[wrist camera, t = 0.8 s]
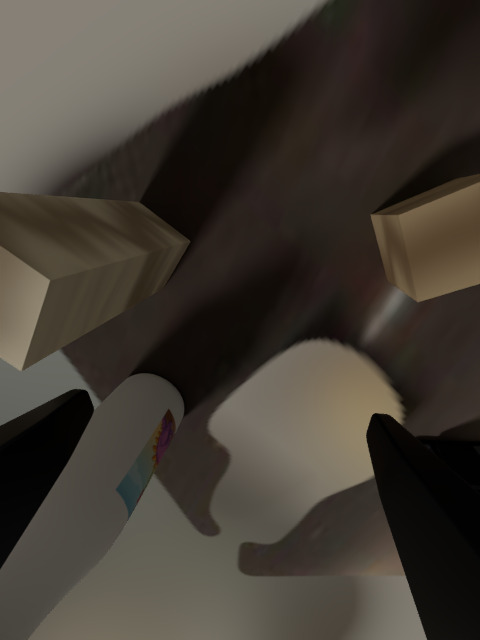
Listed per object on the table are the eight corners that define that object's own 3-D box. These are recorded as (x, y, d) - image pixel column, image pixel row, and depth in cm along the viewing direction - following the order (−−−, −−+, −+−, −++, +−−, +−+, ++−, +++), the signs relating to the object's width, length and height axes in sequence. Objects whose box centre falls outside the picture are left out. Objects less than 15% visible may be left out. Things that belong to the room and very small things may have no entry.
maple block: (190, 241, 20) (50, 280, 8) (163, 287, 22) (21, 371, 11) (139, 202, 20) (-85, 186, 8) (116, 253, 22) (-88, 300, 10)
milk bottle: (111, 394, 29) (-187, 695, 11) (145, 357, 26) (-195, 694, 8) (161, 435, 30) (-33, 768, 12) (200, 404, 27) (15, 793, 9)
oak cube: (466, 254, 17) (529, 268, 12) (387, 280, 19) (418, 302, 14) (454, 178, 16) (521, 164, 11) (370, 214, 17) (398, 215, 13)
